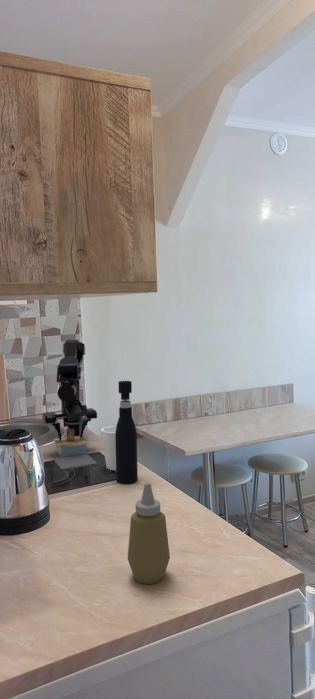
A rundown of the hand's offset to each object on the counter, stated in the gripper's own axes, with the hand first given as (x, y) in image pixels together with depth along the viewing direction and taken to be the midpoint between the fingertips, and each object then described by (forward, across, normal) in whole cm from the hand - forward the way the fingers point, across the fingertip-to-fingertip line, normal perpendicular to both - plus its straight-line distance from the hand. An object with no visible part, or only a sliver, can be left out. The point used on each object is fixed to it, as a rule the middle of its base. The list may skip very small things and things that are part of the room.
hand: (70, 439), depth 172 cm
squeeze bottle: (+5, -7, -86) cm, 87 cm away
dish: (+5, 0, 0) cm, 5 cm away
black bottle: (+5, +8, -36) cm, 37 cm away
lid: (+1, 0, 0) cm, 1 cm away
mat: (+5, -2, -11) cm, 12 cm away
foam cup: (+5, +9, -24) cm, 26 cm away
